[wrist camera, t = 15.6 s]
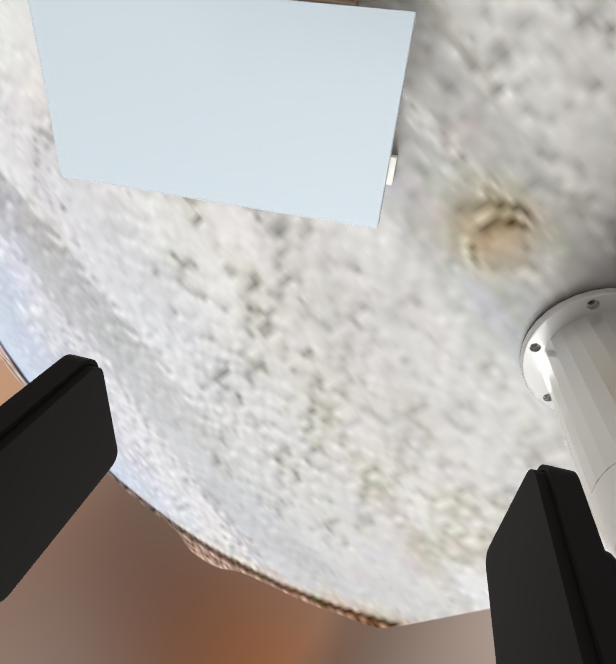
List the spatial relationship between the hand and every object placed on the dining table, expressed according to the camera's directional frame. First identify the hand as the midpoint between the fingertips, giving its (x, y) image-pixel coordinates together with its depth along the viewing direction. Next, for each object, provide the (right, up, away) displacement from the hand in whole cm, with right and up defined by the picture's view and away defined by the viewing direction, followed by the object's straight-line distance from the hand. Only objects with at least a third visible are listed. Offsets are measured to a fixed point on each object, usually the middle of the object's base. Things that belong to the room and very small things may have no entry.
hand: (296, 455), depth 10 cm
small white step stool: (-2, +21, +25) cm, 32 cm away
